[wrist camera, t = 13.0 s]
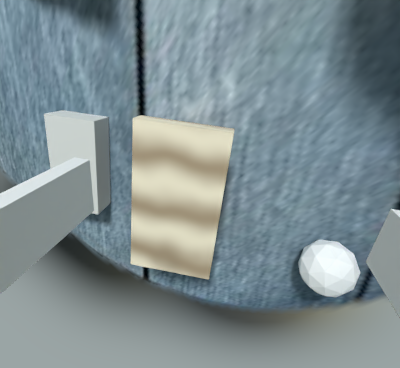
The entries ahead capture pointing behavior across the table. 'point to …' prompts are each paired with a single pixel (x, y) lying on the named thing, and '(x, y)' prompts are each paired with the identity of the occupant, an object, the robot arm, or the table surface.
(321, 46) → the table surface
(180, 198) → the board
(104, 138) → the rubber block
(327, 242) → the geometric ball
